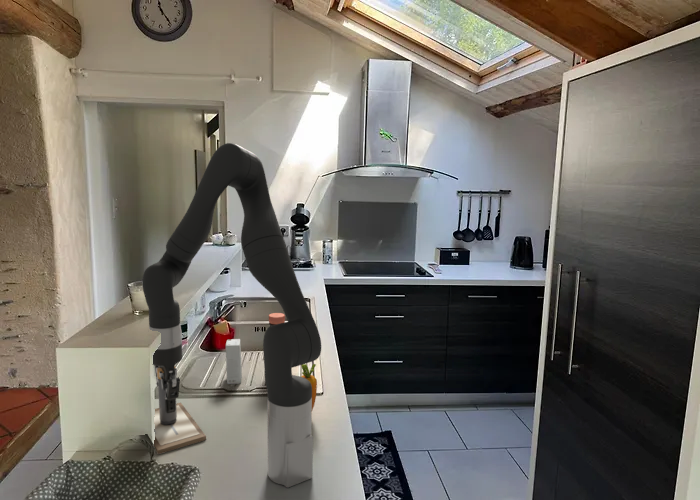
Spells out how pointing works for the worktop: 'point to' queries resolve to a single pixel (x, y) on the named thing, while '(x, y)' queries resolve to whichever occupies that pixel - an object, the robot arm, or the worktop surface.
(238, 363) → the skincare box
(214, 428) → the worktop surface
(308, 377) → the carrot
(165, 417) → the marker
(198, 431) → the writing board
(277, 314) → the bottle
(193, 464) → the worktop surface
